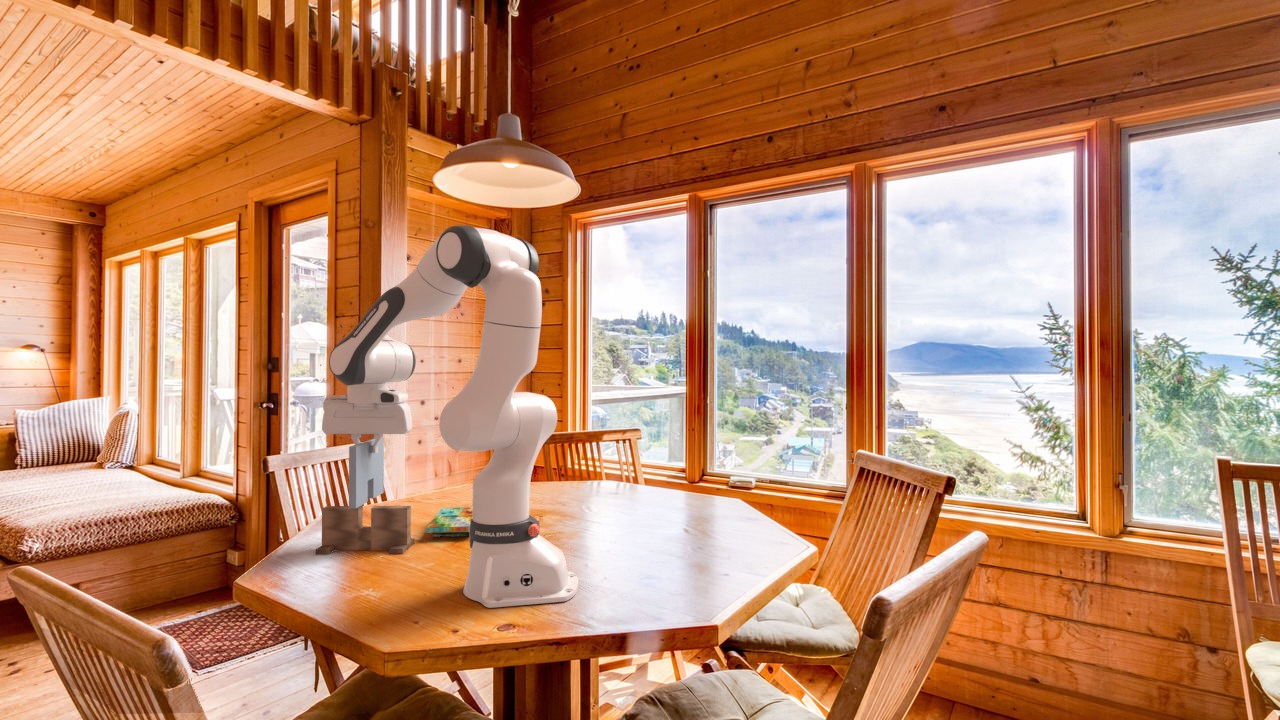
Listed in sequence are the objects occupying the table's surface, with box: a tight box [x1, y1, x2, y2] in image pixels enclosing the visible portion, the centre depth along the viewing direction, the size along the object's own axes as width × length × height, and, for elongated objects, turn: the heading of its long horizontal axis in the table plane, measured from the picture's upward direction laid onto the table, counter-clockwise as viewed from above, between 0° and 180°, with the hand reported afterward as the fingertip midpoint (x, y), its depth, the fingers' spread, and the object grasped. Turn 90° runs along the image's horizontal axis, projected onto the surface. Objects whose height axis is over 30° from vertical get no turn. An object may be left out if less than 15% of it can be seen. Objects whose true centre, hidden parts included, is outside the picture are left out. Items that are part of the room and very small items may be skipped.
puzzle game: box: [425, 506, 473, 538], centre depth 160 cm, size 12×5×20 cm
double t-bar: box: [315, 505, 415, 555], centre depth 143 cm, size 20×8×10 cm, turn 92°
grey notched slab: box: [348, 437, 385, 508], centre depth 143 cm, size 16×2×14 cm, turn 2°
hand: (367, 452), depth 143 cm, fingers closed on grey notched slab, 2 cm apart
